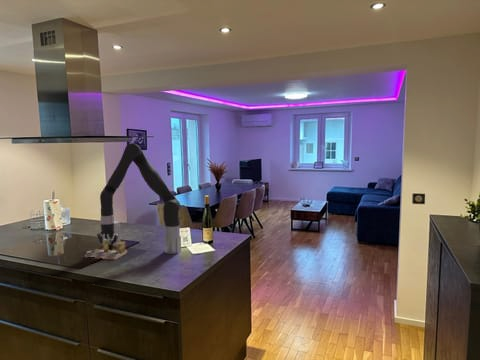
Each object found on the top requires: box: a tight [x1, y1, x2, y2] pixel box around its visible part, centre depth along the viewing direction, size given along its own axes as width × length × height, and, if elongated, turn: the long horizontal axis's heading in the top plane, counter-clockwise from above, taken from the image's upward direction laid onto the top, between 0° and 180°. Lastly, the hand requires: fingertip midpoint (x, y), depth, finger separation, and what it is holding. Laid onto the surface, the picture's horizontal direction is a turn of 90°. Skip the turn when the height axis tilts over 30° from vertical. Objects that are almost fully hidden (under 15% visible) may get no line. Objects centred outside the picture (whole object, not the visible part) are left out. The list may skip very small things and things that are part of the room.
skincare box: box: [107, 220, 122, 247], centre depth 210 cm, size 8×7×16 cm
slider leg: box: [101, 241, 114, 252], centre depth 192 cm, size 3×8×6 cm, turn 170°
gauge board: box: [84, 241, 128, 260], centre depth 192 cm, size 20×13×8 cm, turn 80°
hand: (108, 249), depth 194 cm, fingers closed on slider leg, 3 cm apart
